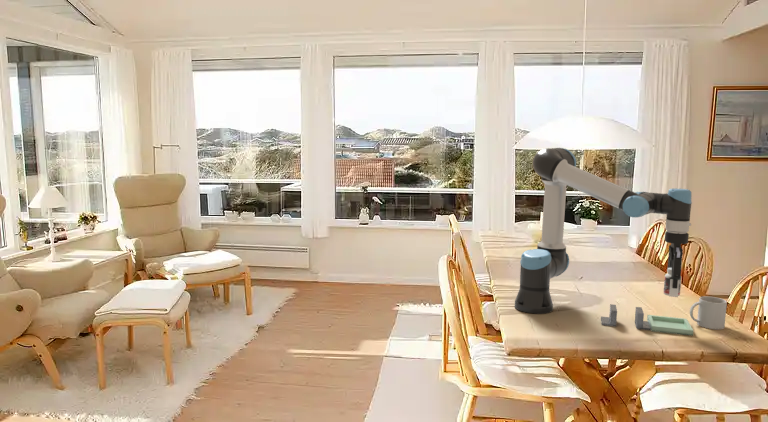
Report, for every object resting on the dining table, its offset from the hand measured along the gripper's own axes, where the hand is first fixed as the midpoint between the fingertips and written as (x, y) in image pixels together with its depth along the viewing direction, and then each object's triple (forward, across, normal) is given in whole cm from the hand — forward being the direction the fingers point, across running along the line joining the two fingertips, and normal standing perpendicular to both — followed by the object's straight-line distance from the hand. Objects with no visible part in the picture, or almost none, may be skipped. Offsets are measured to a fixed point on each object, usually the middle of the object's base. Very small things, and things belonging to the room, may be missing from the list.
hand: (672, 294), depth 203 cm
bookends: (+13, -2, +15) cm, 20 cm away
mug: (+13, +8, -14) cm, 21 cm away
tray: (+13, 0, 0) cm, 13 cm away
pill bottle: (+1, 0, 0) cm, 1 cm away
